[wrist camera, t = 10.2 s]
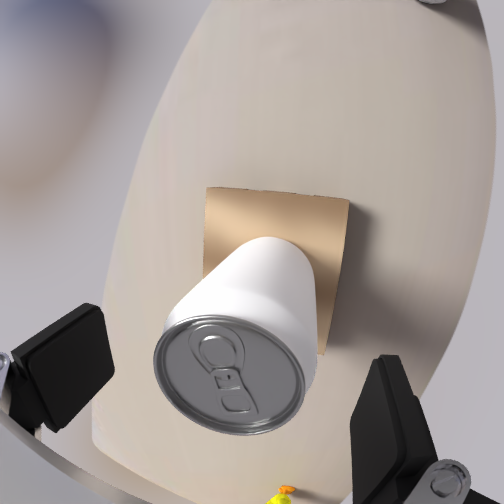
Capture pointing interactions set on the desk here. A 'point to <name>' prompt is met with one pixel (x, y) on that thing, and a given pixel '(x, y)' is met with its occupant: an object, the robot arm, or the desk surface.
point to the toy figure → (282, 496)
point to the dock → (281, 235)
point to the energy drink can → (433, 1)
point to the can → (243, 341)
